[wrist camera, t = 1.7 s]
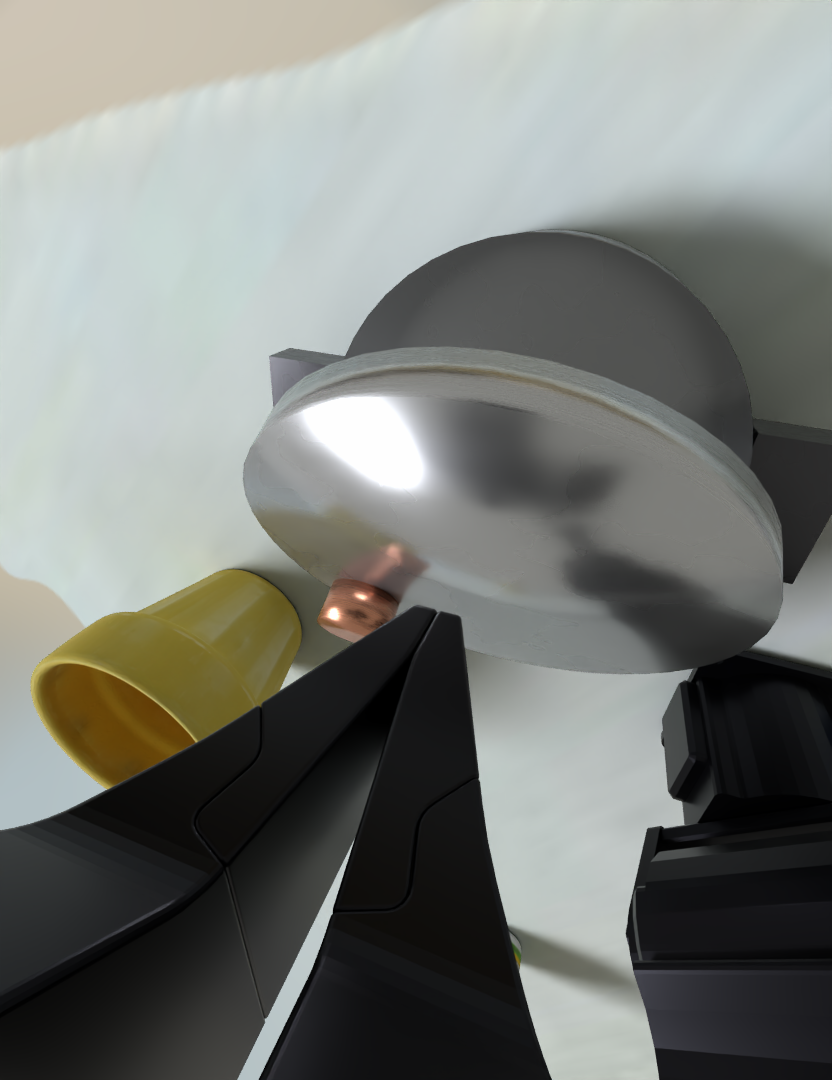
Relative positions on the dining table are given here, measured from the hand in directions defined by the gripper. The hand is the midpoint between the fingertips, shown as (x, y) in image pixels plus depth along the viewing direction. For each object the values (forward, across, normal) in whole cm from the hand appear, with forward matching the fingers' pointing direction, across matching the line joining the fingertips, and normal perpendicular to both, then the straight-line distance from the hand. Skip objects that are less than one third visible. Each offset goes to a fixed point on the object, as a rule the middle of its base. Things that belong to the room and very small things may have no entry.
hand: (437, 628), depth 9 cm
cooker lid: (+6, 0, +1) cm, 6 cm away
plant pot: (+13, +14, +15) cm, 24 cm away
